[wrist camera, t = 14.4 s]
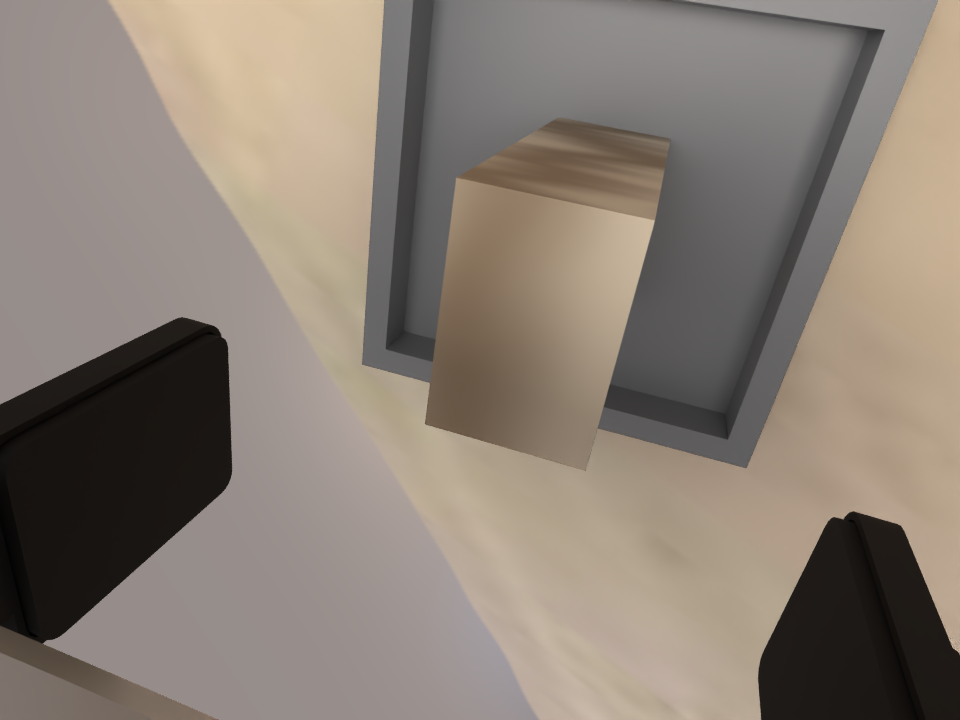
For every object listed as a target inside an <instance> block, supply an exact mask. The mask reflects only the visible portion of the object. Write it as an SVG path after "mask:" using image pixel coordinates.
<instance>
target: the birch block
mask: <svg viewBox="0 0 960 720" xmlns="http://www.w3.org/2000/svg"><path fill="white" fill-rule="evenodd" d="M669 144H670V139H669V138H664V137H659V136H654V135H648V134H643V133H638V132H633V131H628V130H623V129H617V128H612V127H607V126H602V125H597V124H591V123H586V122H581V121H576V120H571V119H565V118H560V117H558V118H556V119H555V120H553V121H551V122H550V123H548V124H546V125H545V126H543V127H541V128H540V129H538V130H536V131H534V132H533V133H531V134H529V135H528V136H526V137H524V138H523V139H521V140H519V141H518V142H516V143H514V144H513V145H511V146H509V147H507V148H506V149H504V150H502V151H501V152H499V153H497V154H496V155H494V156H492V157H491V158H489V159H487V160H485V161H484V162H482V163H480V164H479V165H477V166H475V167H474V168H472V169H470V170H469V171H467V172H465V173H463V174H462V175H460V176H458V177H457V178H456V184H455V192H454V200H453V208H452V216H451V224H450V231H449V239H448V247H447V255H446V263H445V271H444V279H443V287H442V294H441V302H440V310H439V318H438V326H437V334H436V342H435V350H434V357H433V365H432V373H431V381H430V389H429V397H428V405H427V413H426V420H425V424H426V425H430V426H433V427H436V428H440V429H443V430H447V431H450V432H454V433H457V434H461V435H464V436H468V437H471V438H474V439H478V440H481V441H485V442H488V443H492V444H495V445H499V446H502V447H506V448H509V449H512V450H516V451H519V452H523V453H526V454H530V455H533V456H537V457H540V458H544V459H547V460H550V461H554V462H557V463H561V464H564V465H568V466H571V467H575V468H578V469H582V470H585V471H586V468H587V464H588V461H589V457H590V454H591V450H592V446H593V443H594V439H595V436H596V432H597V428H598V425H599V421H600V418H601V414H602V410H603V407H604V403H605V399H606V396H607V392H608V389H609V385H610V381H611V378H612V374H613V371H614V367H615V363H616V360H617V356H618V352H619V349H620V345H621V342H622V338H623V334H624V331H625V327H626V324H627V320H628V316H629V313H630V309H631V305H632V302H633V298H634V295H635V291H636V287H637V284H638V280H639V277H640V273H641V269H642V266H643V262H644V259H645V255H646V251H647V248H648V244H649V240H650V237H651V233H652V230H653V226H654V222H655V218H656V213H657V207H658V202H659V197H660V192H661V186H662V181H663V176H664V171H665V165H666V160H667V155H668V150H669Z"/></svg>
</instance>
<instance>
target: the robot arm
mask: <svg viewBox="0 0 960 720" xmlns="http://www.w3.org/2000/svg"><path fill="white" fill-rule="evenodd" d="M229 395H230V393H229V364H228V346H227V342H226V340H225V339H224V338H222V337H221V333H220V332H219V330H218V329H217V328H216V327H215V326H212V325H209V324H205V323H202V322H198V321H195V320H191V319H188V318H183V317H181V318H177V319H175V320H173V321H171V322H169V323H167V324H165V325H162V326H161V327H158V328H157V329H154V330H152V331H150V332H148V333H146V334H144V335H142V336H140V337H138V338H136V339H134V340H132V341H130V342H128V343H126V344H124V345H121V346H119V347H118V348H115V349H113V350H111V351H109V352H107V353H105V354H103V355H101V356H99V357H97V358H95V359H93V360H91V361H89V362H87V363H84V364H82V365H80V366H79V367H76V368H74V369H72V370H70V371H68V372H66V373H64V374H62V375H60V376H58V377H56V378H54V379H52V380H50V381H48V382H45V383H43V384H41V385H39V386H37V387H35V388H33V389H31V390H29V391H27V392H25V393H23V394H21V395H19V396H17V397H15V398H13V399H11V400H9V401H7V402H4V403H3V404H1V405H0V720H218V719H216V718H213V717H211V716H209V715H207V714H204V713H202V712H200V711H197V710H195V709H193V708H190V707H188V706H186V705H183V704H181V703H179V702H177V701H174V700H172V699H169V698H167V697H165V696H163V695H161V694H158V693H156V692H153V691H151V690H149V689H147V688H144V687H142V686H140V685H137V684H135V683H132V682H130V681H128V680H126V679H123V678H121V677H119V676H116V675H114V674H112V673H109V672H107V671H105V670H102V669H100V668H98V667H95V666H93V665H91V664H88V663H86V662H84V661H81V660H79V659H77V658H74V657H72V656H70V655H67V654H65V653H63V652H60V651H58V650H55V649H53V648H51V647H48V646H46V645H44V644H43V643H44V642H45V641H46V640H53V639H55V638H58V637H60V636H61V635H62V634H64V633H65V632H66V631H67V630H68V629H69V628H71V627H72V626H73V625H74V624H75V623H76V622H77V621H78V620H80V619H81V618H82V617H83V616H84V615H85V614H86V613H87V612H88V611H90V610H91V609H92V608H93V607H94V606H95V605H96V604H98V603H99V602H100V601H101V600H102V599H103V598H104V597H105V596H107V595H108V594H109V593H110V592H111V591H112V590H113V589H114V588H116V587H117V586H118V585H119V584H120V583H121V582H122V581H123V580H125V579H126V578H127V577H128V576H129V575H130V574H131V573H132V572H134V570H136V569H137V568H138V567H139V566H140V565H141V564H142V563H144V562H145V561H146V560H147V559H148V558H149V557H150V556H151V555H152V554H154V553H155V552H156V551H157V550H158V549H159V548H160V547H162V546H163V545H164V544H165V543H166V542H167V541H168V540H169V539H170V538H172V537H173V536H174V535H175V534H176V533H177V532H178V531H180V530H181V529H182V528H183V527H184V526H185V525H186V524H187V523H189V521H191V520H192V519H193V518H194V517H195V516H196V515H197V514H199V513H200V512H201V511H202V510H203V509H204V508H205V507H207V505H209V504H210V503H211V502H212V501H213V500H214V499H216V498H217V497H218V496H219V495H220V494H221V493H222V492H223V491H224V490H225V489H226V487H227V485H228V483H229V481H230V478H231V475H232V454H231V453H232V452H231V424H230V423H231V422H230V396H229ZM758 683H759V696H760V709H761V720H960V655H959V653H958V652H957V651H956V650H955V649H953V648H952V645H951V643H950V641H949V638H948V636H947V633H946V631H945V629H944V626H943V624H942V621H941V619H940V616H939V614H938V612H937V609H936V607H935V604H934V602H933V600H932V597H931V595H930V592H929V590H928V587H927V585H926V583H925V580H924V578H923V575H922V573H921V570H920V568H919V566H918V563H917V561H916V558H915V556H914V554H913V551H912V549H911V546H910V544H909V541H908V539H907V537H906V534H905V532H904V530H903V528H902V527H901V526H900V525H898V524H895V523H892V522H888V521H885V520H881V519H878V518H874V517H871V516H867V515H864V514H861V513H857V512H854V511H853V512H850V513H849V514H848V515H847V516H846V517H845V518H844V520H843V519H839V518H836V517H833V518H831V519H830V520H829V521H828V523H827V524H826V526H825V528H824V530H823V532H822V534H821V536H820V538H819V540H818V542H817V544H816V546H815V548H814V550H813V552H812V554H811V556H810V559H809V561H808V563H807V565H806V567H805V569H804V571H803V573H802V575H801V577H800V579H799V581H798V583H797V585H796V587H795V589H794V591H793V593H792V595H791V597H790V599H789V601H788V603H787V605H786V607H785V609H784V611H783V613H782V615H781V617H780V619H779V621H778V623H777V625H776V627H775V629H774V631H773V633H772V635H771V637H770V639H769V641H768V643H767V645H766V647H765V650H764V652H763V654H762V657H761V661H760V665H759V673H758Z"/></svg>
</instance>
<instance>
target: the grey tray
mask: <svg viewBox="0 0 960 720" xmlns="http://www.w3.org/2000/svg"><path fill="white" fill-rule="evenodd" d="M937 2H938V0H384V16H383V33H382V49H381V65H380V82H379V98H378V114H377V130H376V147H375V163H374V179H373V196H372V212H371V228H370V245H369V261H368V277H367V293H366V310H365V326H364V342H363V359H362V365H366V366H370V367H373V368H377V369H381V370H384V371H388V372H392V373H396V374H399V375H403V376H407V377H410V378H414V379H418V380H422V381H425V382H429V383H430V381H431V373H432V365H433V357H434V350H435V342H436V334H437V326H438V318H439V310H440V302H441V294H442V287H443V279H444V271H445V263H446V255H447V247H448V239H449V231H450V224H451V216H452V208H453V200H454V192H455V184H456V178H457V177H458V176H460V175H462V174H463V173H465V172H467V171H469V170H470V169H472V168H474V167H475V166H477V165H479V164H480V163H482V162H484V161H485V160H487V159H489V158H491V157H492V156H494V155H496V154H497V153H499V152H501V151H502V150H504V149H506V148H507V147H509V146H511V145H513V144H514V143H516V142H518V141H519V140H521V139H523V138H524V137H526V136H528V135H529V134H531V133H533V132H534V131H536V130H538V129H540V128H541V127H543V126H545V125H546V124H548V123H550V122H551V121H553V120H555V119H556V118H558V117H560V118H565V119H571V120H576V121H581V122H586V123H591V124H597V125H602V126H607V127H612V128H617V129H623V130H628V131H633V132H638V133H643V134H648V135H654V136H659V137H664V138H669V139H670V144H669V150H668V155H667V160H666V165H665V171H664V176H663V181H662V186H661V192H660V197H659V202H658V207H657V213H656V218H655V222H654V226H653V230H652V233H651V237H650V240H649V244H648V248H647V251H646V255H645V259H644V262H643V266H642V269H641V273H640V277H639V280H638V284H637V287H636V291H635V295H634V298H633V302H632V305H631V309H630V313H629V316H628V320H627V324H626V327H625V331H624V334H623V338H622V342H621V345H620V349H619V352H618V356H617V360H616V363H615V367H614V371H613V374H612V378H611V381H610V385H609V389H608V392H607V396H606V399H605V403H604V407H603V410H602V414H601V418H600V421H599V425H598V428H599V429H603V430H607V431H610V432H614V433H618V434H621V435H625V436H629V437H633V438H636V439H640V440H644V441H647V442H651V443H655V444H658V445H662V446H666V447H670V448H673V449H677V450H681V451H684V452H688V453H692V454H695V455H699V456H703V457H707V458H710V459H714V460H718V461H721V462H725V463H729V464H732V465H736V466H740V467H744V468H747V466H748V463H749V461H750V459H751V456H752V454H753V451H754V449H755V446H756V444H757V442H758V439H759V437H760V434H761V432H762V429H763V427H764V424H765V422H766V420H767V417H768V415H769V412H770V410H771V407H772V405H773V402H774V400H775V398H776V395H777V393H778V390H779V388H780V385H781V383H782V380H783V378H784V376H785V373H786V371H787V368H788V366H789V363H790V361H791V359H792V356H793V354H794V351H795V349H796V346H797V344H798V341H799V339H800V337H801V334H802V332H803V329H804V327H805V324H806V322H807V319H808V317H809V315H810V312H811V310H812V307H813V305H814V302H815V300H816V297H817V295H818V293H819V290H820V288H821V285H822V283H823V280H824V278H825V276H826V273H827V271H828V268H829V266H830V263H831V261H832V258H833V256H834V254H835V251H836V249H837V246H838V244H839V241H840V239H841V236H842V234H843V232H844V229H845V227H846V224H847V222H848V219H849V217H850V214H851V212H852V210H853V207H854V205H855V202H856V200H857V197H858V195H859V193H860V190H861V188H862V185H863V183H864V180H865V178H866V175H867V173H868V171H869V168H870V166H871V163H872V161H873V158H874V156H875V153H876V151H877V149H878V146H879V144H880V141H881V139H882V136H883V134H884V131H885V129H886V127H887V124H888V122H889V119H890V117H891V114H892V112H893V110H894V107H895V105H896V102H897V100H898V97H899V95H900V92H901V90H902V88H903V85H904V83H905V80H906V78H907V75H908V73H909V70H910V68H911V66H912V63H913V61H914V58H915V56H916V53H917V51H918V48H919V46H920V44H921V41H922V39H923V36H924V34H925V31H926V29H927V27H928V24H929V22H930V19H931V17H932V14H933V12H934V9H935V7H936V5H937Z"/></svg>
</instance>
